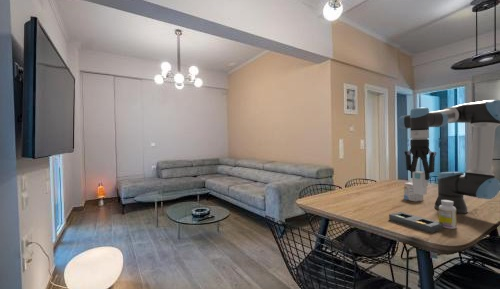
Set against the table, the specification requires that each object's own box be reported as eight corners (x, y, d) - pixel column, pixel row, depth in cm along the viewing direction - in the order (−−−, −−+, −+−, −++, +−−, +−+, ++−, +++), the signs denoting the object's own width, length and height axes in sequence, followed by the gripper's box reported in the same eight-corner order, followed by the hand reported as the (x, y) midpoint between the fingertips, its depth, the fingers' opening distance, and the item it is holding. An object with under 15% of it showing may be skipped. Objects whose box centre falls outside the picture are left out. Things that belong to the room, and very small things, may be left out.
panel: (400, 216, 129) (400, 211, 129) (442, 229, 111) (442, 222, 111) (389, 219, 125) (389, 214, 125) (430, 233, 107) (430, 226, 107)
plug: (417, 192, 118) (417, 171, 118) (426, 194, 115) (426, 172, 114) (412, 193, 116) (412, 171, 116) (421, 195, 112) (421, 172, 112)
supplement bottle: (448, 224, 118) (447, 199, 118) (460, 229, 111) (460, 202, 111) (435, 224, 118) (435, 199, 117) (446, 229, 111) (446, 203, 111)
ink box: (403, 198, 167) (403, 180, 167) (411, 197, 170) (411, 179, 170) (415, 201, 159) (414, 182, 159) (423, 200, 162) (423, 181, 161)
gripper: (397, 139, 121) (398, 183, 121) (435, 138, 106) (435, 189, 106) (405, 139, 124) (406, 182, 125) (443, 138, 109) (444, 187, 110)
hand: (419, 185), depth 115 cm, fingers closed on plug, 4 cm apart
